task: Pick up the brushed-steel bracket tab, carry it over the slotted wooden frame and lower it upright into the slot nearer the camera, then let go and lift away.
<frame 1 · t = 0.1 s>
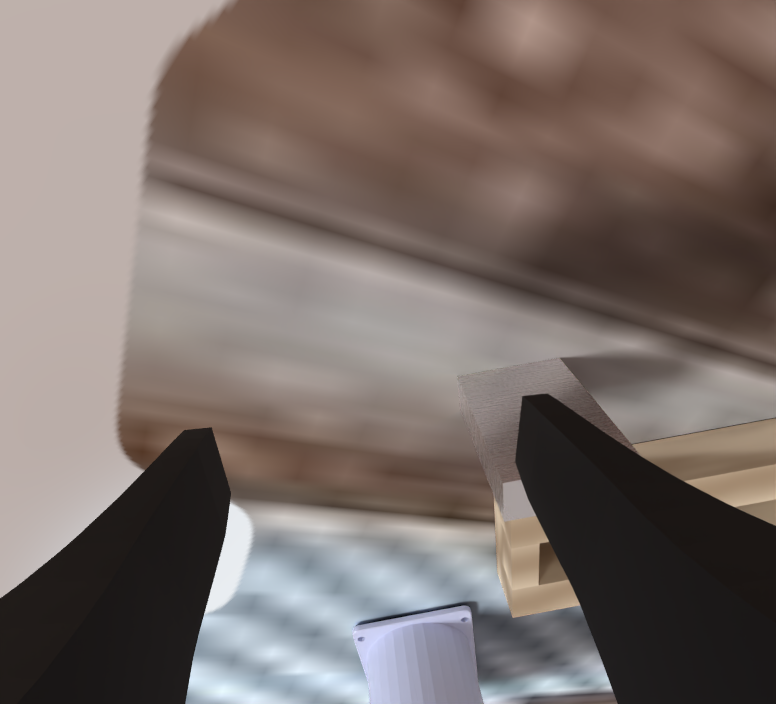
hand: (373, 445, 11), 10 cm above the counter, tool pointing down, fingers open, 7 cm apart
steel bracket tab: (508, 384, 23), on the counter
slotted wooden frame: (659, 494, 28), on the counter
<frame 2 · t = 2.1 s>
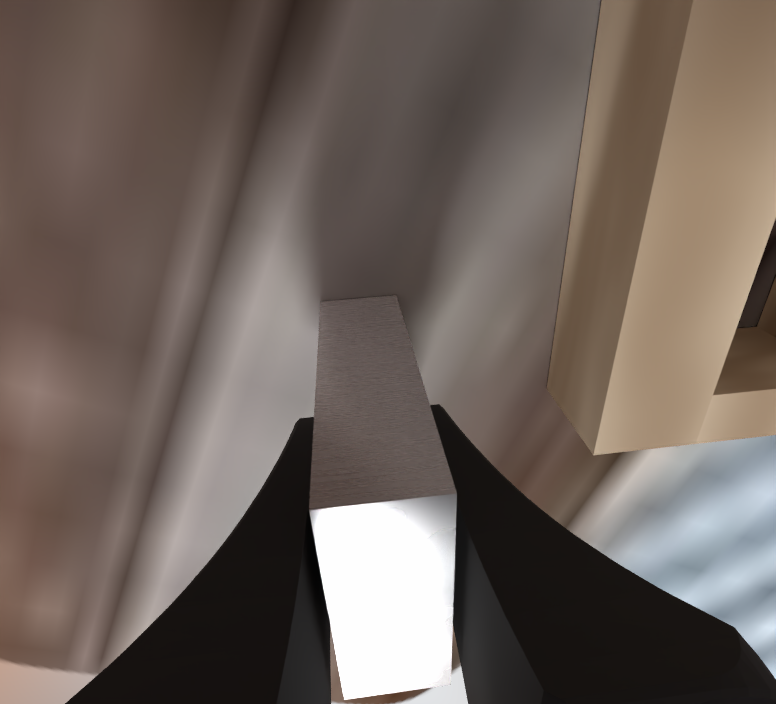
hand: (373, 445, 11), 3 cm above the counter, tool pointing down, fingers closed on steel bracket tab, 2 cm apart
steel bracket tab: (365, 378, 14), on the counter, touching gripper
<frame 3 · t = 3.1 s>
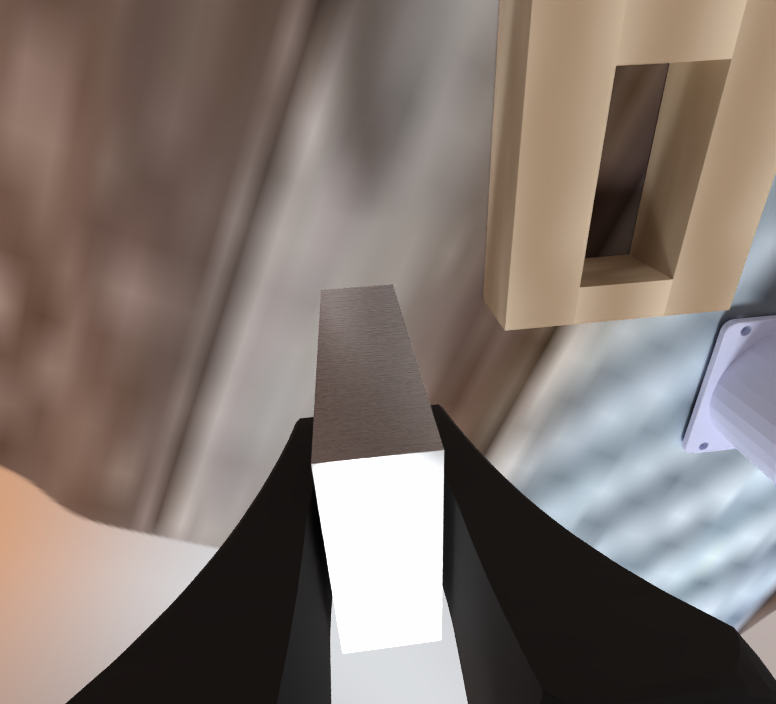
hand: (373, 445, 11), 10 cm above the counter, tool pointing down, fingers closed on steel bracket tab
steel bracket tab: (363, 364, 14), point 6 cm above the counter, touching gripper
slotted wooden frame: (629, 13, 16), on the counter
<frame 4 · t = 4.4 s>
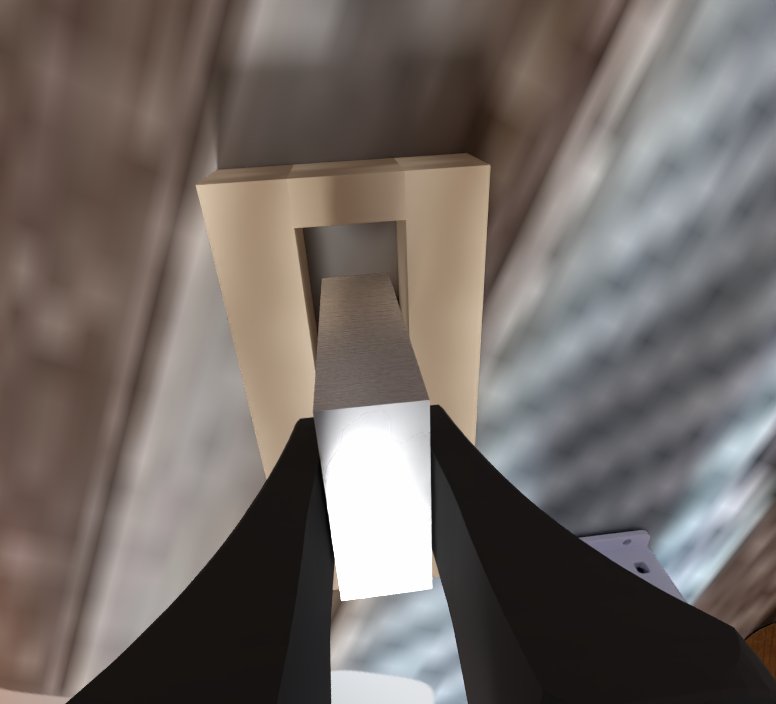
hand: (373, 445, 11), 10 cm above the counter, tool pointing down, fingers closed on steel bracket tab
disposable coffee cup: (773, 638, 38), on the counter
steel bracket tab: (361, 349, 15), point 5 cm above the counter, touching gripper
slotted wooden frame: (364, 390, 22), on the counter
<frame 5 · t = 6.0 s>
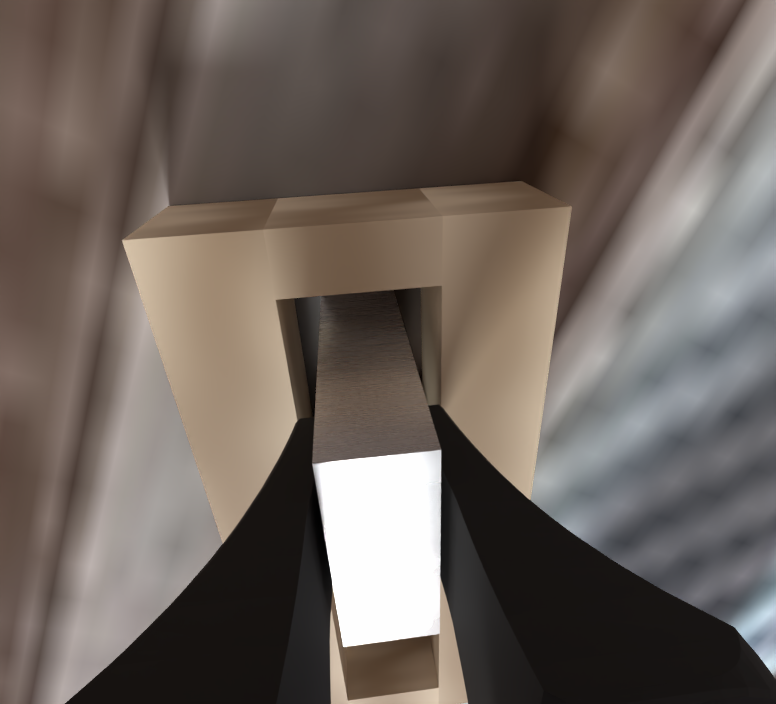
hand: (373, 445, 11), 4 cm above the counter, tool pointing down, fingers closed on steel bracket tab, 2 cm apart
steel bracket tab: (363, 363, 15), resting in slotted wooden frame, touching gripper
slotted wooden frame: (374, 480, 17), on the counter
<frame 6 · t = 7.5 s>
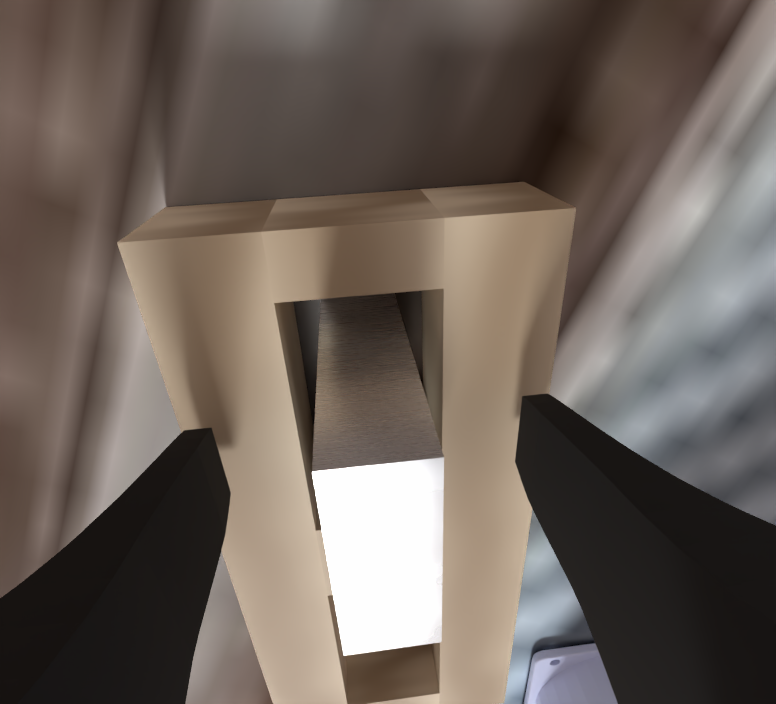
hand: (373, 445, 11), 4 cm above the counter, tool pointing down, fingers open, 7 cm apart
steel bracket tab: (363, 366, 14), resting in slotted wooden frame
slotted wooden frame: (374, 484, 17), on the counter
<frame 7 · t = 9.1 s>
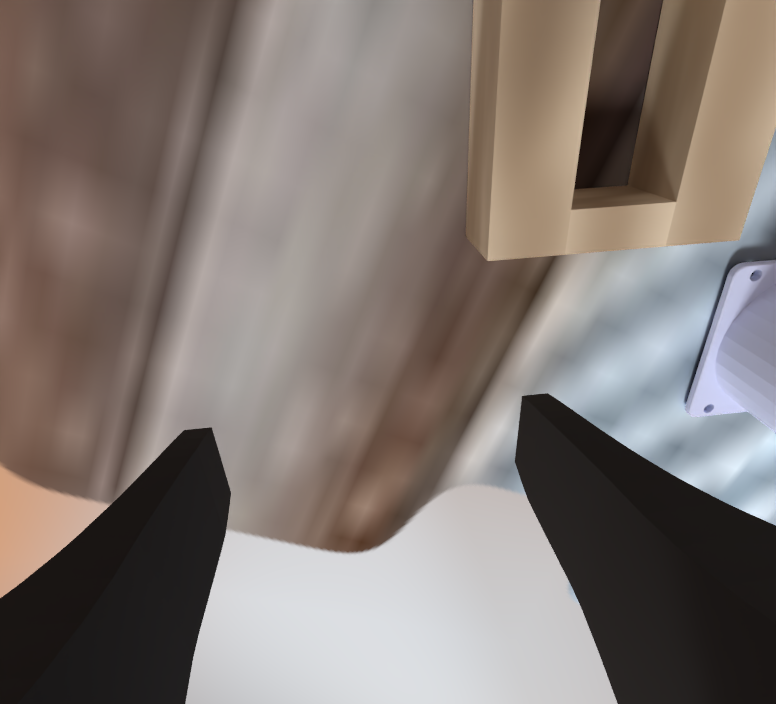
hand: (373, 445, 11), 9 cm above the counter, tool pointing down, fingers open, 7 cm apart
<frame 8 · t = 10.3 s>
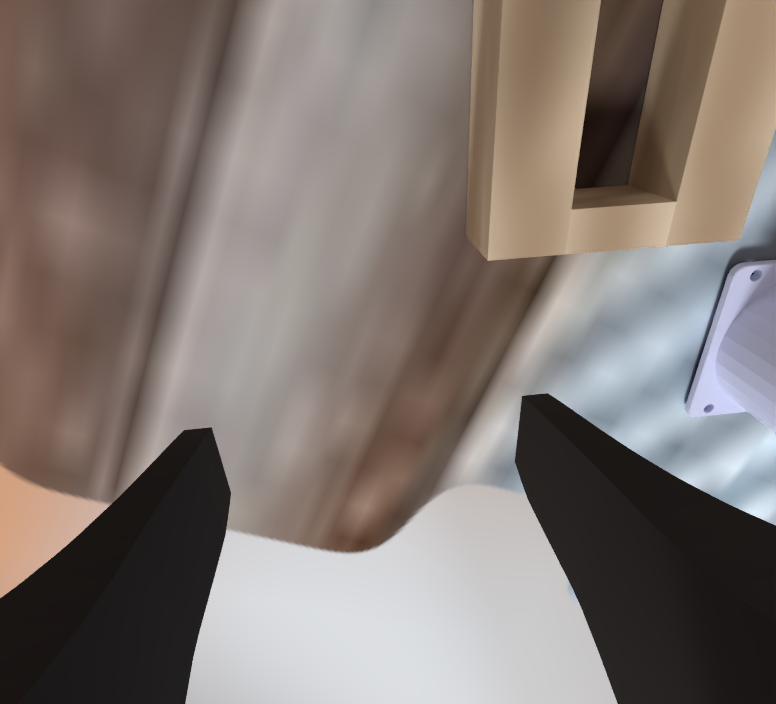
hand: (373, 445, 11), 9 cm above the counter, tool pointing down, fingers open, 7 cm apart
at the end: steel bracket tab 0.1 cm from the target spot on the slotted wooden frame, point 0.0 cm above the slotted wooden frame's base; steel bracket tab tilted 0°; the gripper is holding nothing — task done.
